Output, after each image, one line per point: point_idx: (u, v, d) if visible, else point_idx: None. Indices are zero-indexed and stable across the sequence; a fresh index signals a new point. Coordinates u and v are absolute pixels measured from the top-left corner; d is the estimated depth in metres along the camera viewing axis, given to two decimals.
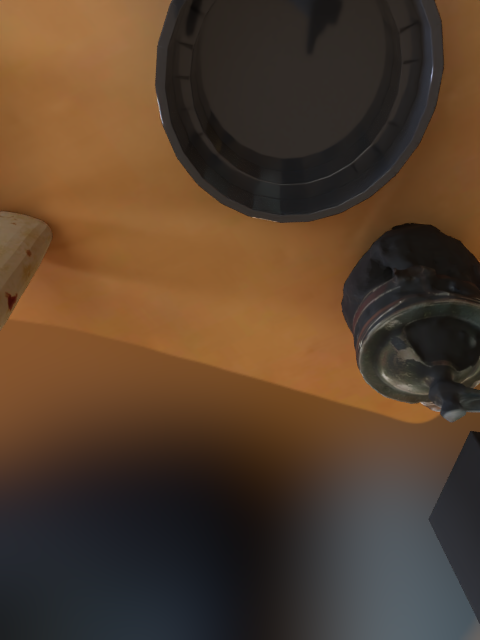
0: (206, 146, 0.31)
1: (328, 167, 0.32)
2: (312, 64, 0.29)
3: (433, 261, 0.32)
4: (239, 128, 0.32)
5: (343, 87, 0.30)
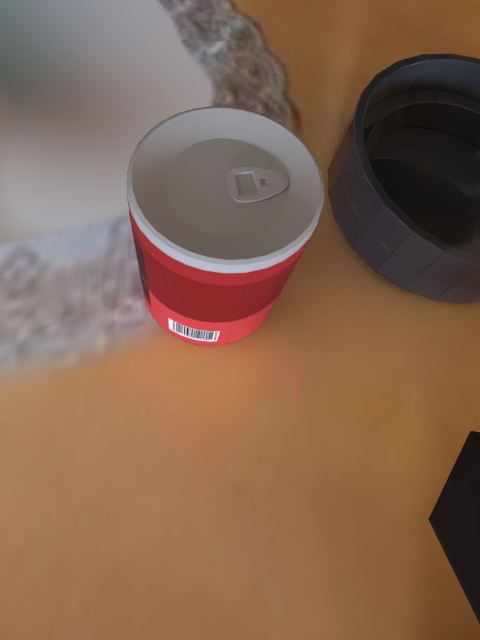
0: None
1: None
2: (427, 182, 0.32)
3: None
4: None
5: (444, 162, 0.33)
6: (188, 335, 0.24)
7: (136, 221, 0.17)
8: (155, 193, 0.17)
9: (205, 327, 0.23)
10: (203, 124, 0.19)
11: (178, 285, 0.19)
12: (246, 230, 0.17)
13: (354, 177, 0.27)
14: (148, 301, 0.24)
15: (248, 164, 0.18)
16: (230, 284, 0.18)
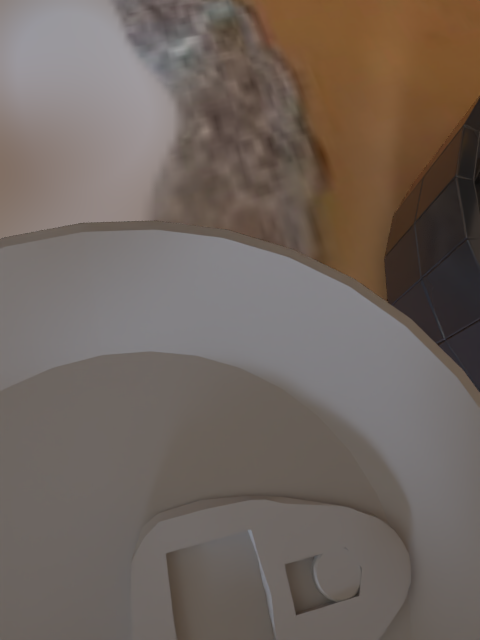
0: None
1: None
2: None
3: None
4: None
5: None
6: None
7: None
8: None
9: None
10: (43, 303, 0.04)
11: None
12: None
13: (463, 301, 0.13)
14: None
15: (232, 483, 0.04)
16: None
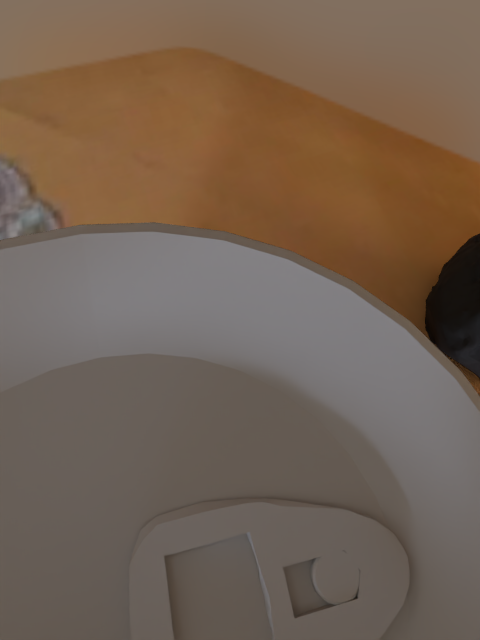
0: None
1: None
2: None
3: (475, 282, 0.25)
4: None
5: None
6: None
7: None
8: None
9: None
10: (41, 305, 0.04)
11: None
12: None
13: None
14: None
15: (232, 485, 0.04)
16: None
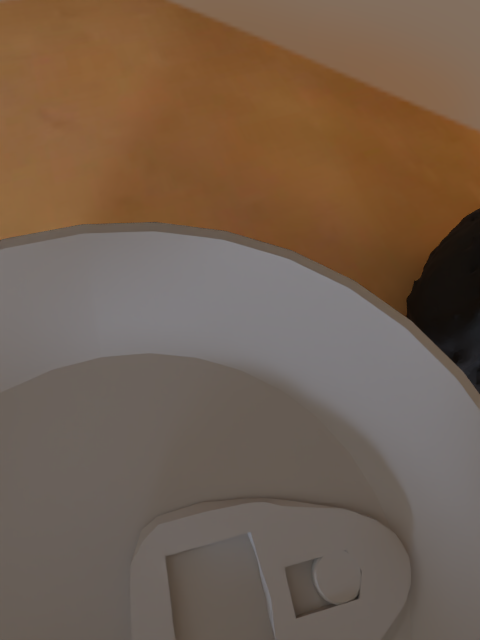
0: None
1: None
2: None
3: (470, 274, 0.18)
4: None
5: None
6: None
7: None
8: None
9: None
10: (42, 305, 0.04)
11: None
12: None
13: None
14: None
15: (232, 485, 0.04)
16: None
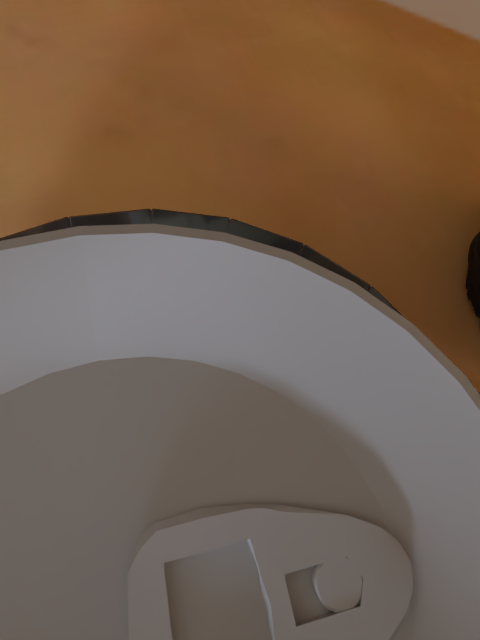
0: None
1: None
2: None
3: None
4: None
5: None
6: None
7: None
8: None
9: None
10: (38, 307, 0.04)
11: None
12: None
13: None
14: None
15: (232, 491, 0.04)
16: None
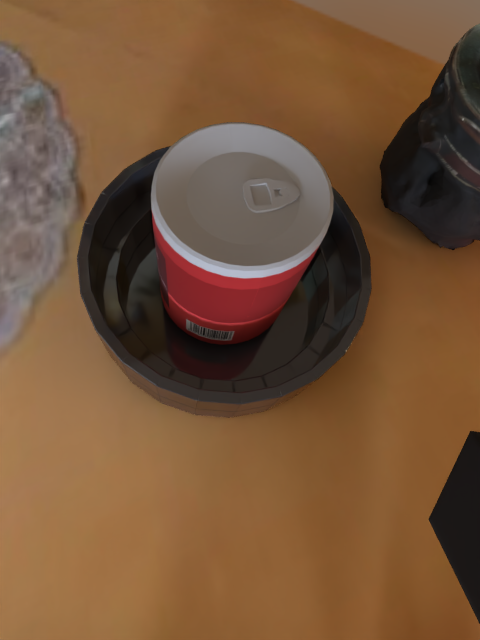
0: (278, 376, 0.25)
1: (314, 259, 0.30)
2: None
3: (415, 133, 0.28)
4: (267, 351, 0.28)
5: None
6: (204, 334, 0.26)
7: (160, 231, 0.19)
8: (177, 205, 0.19)
9: (221, 328, 0.24)
10: (220, 139, 0.20)
11: (197, 289, 0.20)
12: (262, 237, 0.19)
13: None
14: (166, 303, 0.26)
15: (262, 176, 0.20)
16: (247, 288, 0.19)
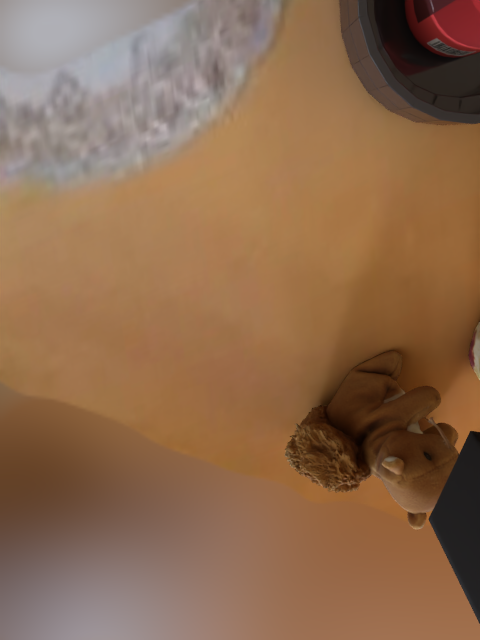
0: None
1: None
2: None
3: None
4: None
5: None
6: (443, 50, 0.30)
7: None
8: None
9: (468, 49, 0.28)
10: None
11: None
12: None
13: (353, 8, 0.27)
14: (417, 17, 0.29)
15: None
16: None
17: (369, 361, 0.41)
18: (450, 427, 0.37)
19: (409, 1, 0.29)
